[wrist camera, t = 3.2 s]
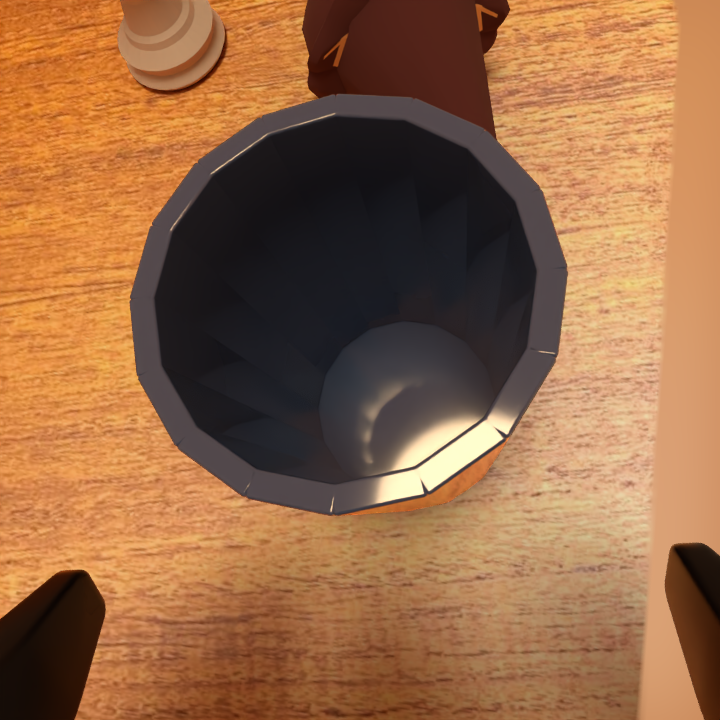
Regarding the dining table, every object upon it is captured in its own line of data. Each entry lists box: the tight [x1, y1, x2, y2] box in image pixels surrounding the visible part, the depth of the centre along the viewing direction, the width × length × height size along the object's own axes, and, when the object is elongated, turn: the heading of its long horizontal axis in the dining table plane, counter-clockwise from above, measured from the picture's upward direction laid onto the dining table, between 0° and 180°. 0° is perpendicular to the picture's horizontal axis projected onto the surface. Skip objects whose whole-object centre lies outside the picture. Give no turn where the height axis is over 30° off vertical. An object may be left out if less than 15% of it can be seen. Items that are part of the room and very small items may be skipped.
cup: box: [130, 94, 568, 516], centre depth 15 cm, size 7×7×12 cm
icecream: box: [302, 0, 510, 140], centre depth 20 cm, size 7×7×15 cm
